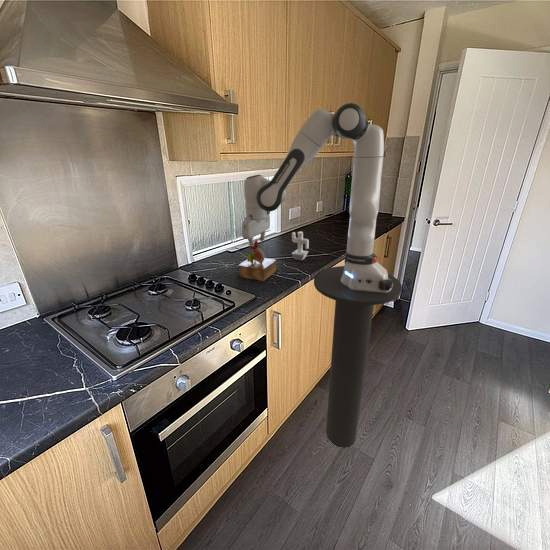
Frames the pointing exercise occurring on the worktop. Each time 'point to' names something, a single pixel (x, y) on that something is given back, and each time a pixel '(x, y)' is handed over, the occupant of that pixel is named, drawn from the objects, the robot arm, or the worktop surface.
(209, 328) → the worktop surface
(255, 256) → the bird rattle
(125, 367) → the worktop surface
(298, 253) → the figurine
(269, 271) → the wooden block
